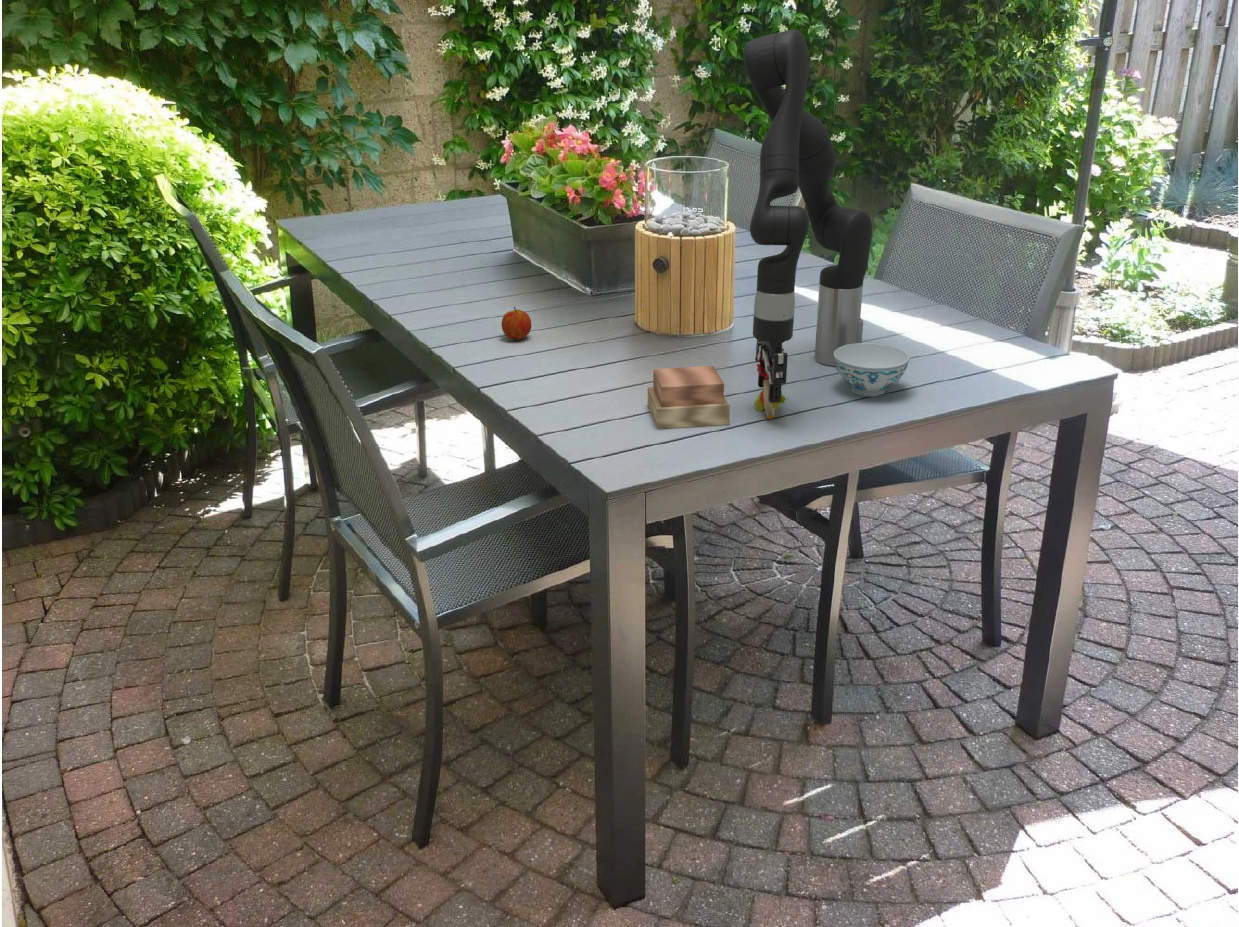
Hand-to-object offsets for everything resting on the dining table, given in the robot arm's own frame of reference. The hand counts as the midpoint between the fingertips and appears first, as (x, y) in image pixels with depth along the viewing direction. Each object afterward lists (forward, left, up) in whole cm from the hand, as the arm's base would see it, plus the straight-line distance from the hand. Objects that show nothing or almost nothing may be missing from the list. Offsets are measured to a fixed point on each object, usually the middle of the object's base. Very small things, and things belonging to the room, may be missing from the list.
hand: (768, 394), depth 215 cm
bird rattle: (-1, -1, -5) cm, 5 cm away
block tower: (+15, -3, -4) cm, 16 cm away
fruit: (+46, -55, -5) cm, 72 cm away
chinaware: (-24, -10, -5) cm, 26 cm away
